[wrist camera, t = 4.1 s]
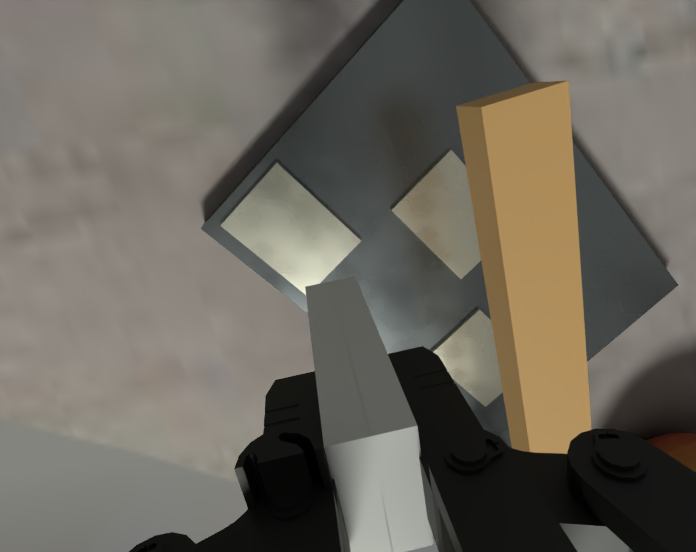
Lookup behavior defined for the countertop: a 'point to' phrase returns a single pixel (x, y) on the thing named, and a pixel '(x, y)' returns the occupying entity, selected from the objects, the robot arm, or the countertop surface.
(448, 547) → the robot arm
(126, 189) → the countertop surface
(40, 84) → the countertop surface
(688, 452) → the apple
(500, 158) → the cable arm
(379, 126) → the plate
